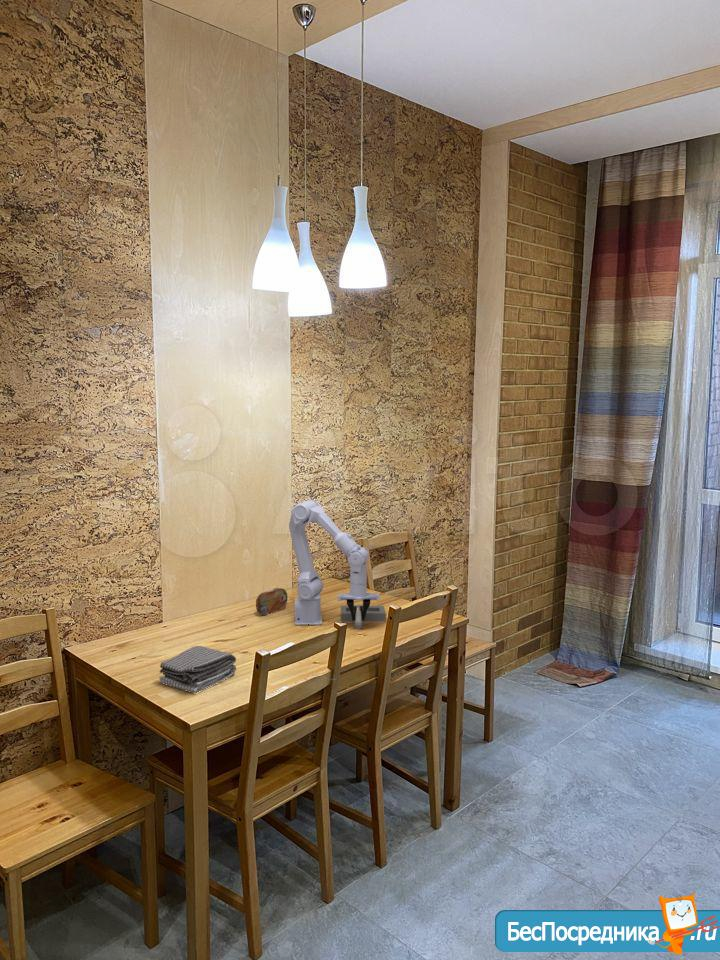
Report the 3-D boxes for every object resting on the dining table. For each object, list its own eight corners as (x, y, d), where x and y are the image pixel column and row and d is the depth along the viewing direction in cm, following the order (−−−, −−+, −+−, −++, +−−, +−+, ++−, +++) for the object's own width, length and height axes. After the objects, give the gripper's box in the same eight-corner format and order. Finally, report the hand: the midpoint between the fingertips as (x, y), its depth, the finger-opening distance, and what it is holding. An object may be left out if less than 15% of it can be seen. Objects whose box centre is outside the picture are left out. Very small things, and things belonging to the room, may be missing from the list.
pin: (354, 629, 265) (354, 607, 264) (353, 626, 268) (354, 604, 267) (362, 629, 265) (362, 607, 264) (362, 626, 268) (362, 604, 267)
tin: (260, 617, 278) (260, 595, 276) (254, 616, 279) (254, 593, 278) (288, 607, 289) (288, 586, 288) (282, 606, 291) (282, 585, 290)
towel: (238, 675, 226) (238, 650, 224) (193, 696, 210) (192, 670, 209) (201, 664, 234) (201, 639, 233) (156, 684, 219) (155, 658, 218)
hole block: (341, 622, 272) (341, 613, 272) (340, 614, 281) (340, 605, 280) (385, 622, 273) (385, 613, 272) (383, 614, 281) (383, 605, 281)
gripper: (337, 585, 260) (337, 623, 262) (379, 585, 261) (379, 623, 263) (337, 580, 267) (337, 617, 269) (378, 580, 268) (378, 617, 270)
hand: (358, 620), depth 266 cm, fingers closed on pin, 3 cm apart
